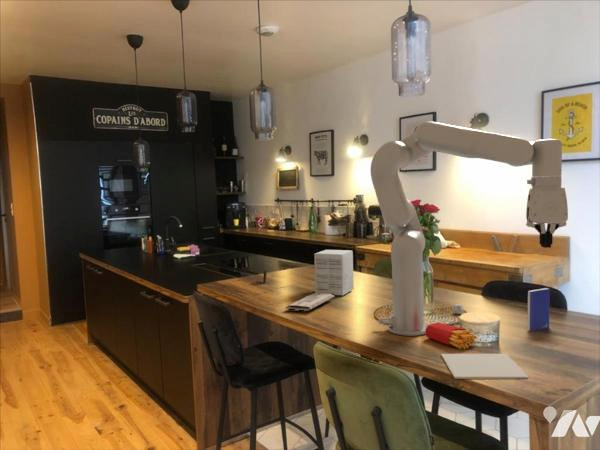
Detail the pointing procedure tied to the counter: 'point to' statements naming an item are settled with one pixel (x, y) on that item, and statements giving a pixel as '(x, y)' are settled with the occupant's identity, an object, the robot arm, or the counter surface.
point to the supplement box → (334, 272)
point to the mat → (483, 366)
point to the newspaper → (310, 301)
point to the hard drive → (538, 309)
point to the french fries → (450, 335)
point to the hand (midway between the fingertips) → (545, 246)
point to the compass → (263, 279)
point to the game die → (457, 309)
